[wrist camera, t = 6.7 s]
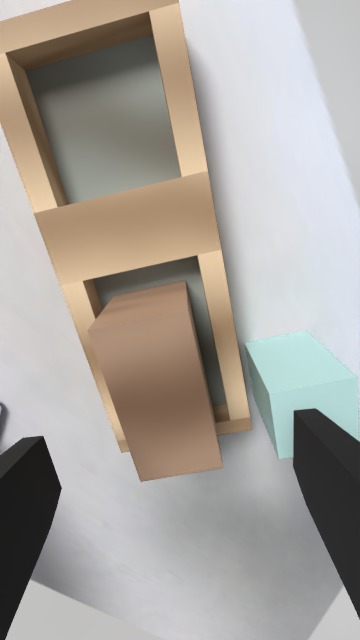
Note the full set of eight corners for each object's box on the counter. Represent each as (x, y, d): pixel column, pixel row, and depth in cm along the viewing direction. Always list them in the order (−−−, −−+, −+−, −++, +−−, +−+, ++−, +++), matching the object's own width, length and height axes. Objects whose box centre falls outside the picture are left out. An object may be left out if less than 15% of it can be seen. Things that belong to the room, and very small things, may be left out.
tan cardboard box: (212, 402, 17) (223, 467, 12) (150, 413, 17) (140, 481, 13) (185, 279, 14) (187, 309, 10) (114, 295, 14) (87, 330, 10)
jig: (242, 398, 18) (252, 429, 16) (129, 419, 19) (121, 452, 16) (174, 21, 12) (173, -31, 9) (10, 67, 12) (-34, 31, 10)
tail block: (312, 383, 18) (359, 445, 13) (253, 394, 18) (279, 459, 13) (307, 329, 17) (357, 376, 12) (244, 342, 17) (269, 393, 12)
